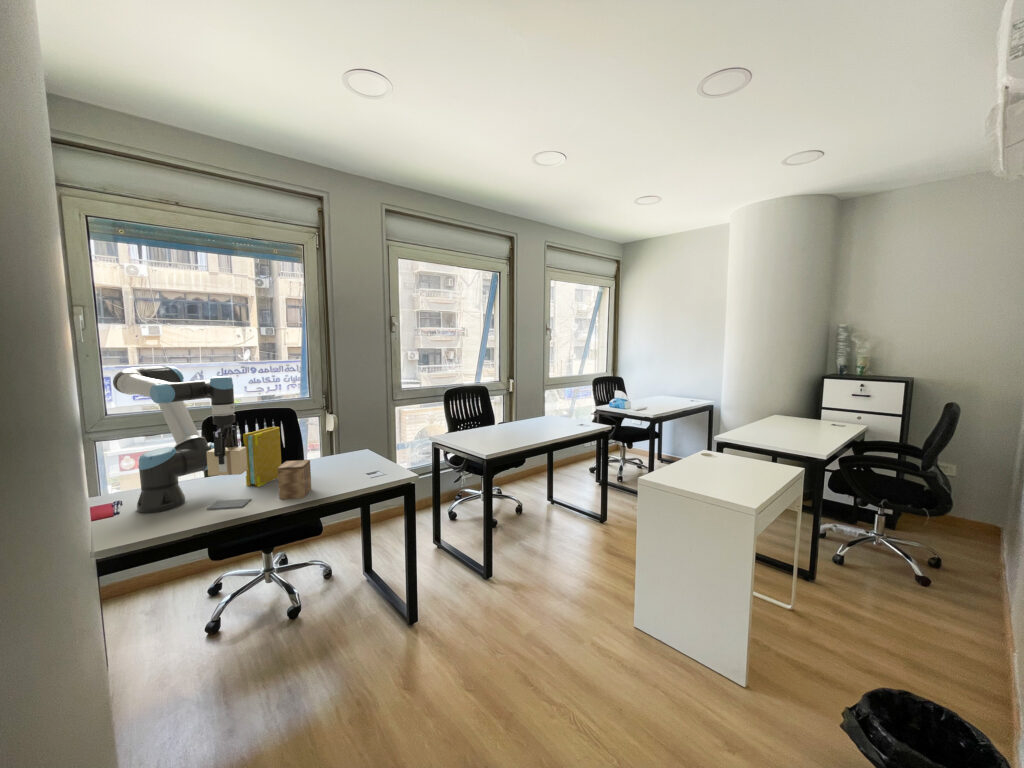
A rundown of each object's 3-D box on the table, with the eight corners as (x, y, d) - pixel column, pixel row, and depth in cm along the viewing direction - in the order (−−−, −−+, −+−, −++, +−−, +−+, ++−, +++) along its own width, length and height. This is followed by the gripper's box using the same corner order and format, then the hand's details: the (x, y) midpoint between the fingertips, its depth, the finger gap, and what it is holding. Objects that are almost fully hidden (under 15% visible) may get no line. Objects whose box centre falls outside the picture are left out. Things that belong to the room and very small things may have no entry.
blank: (208, 475, 163) (206, 451, 162) (216, 471, 169) (214, 447, 168) (240, 474, 165) (239, 450, 164) (247, 469, 171) (246, 446, 170)
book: (258, 486, 189) (255, 434, 186) (246, 485, 190) (243, 434, 187) (285, 475, 205) (282, 427, 203) (274, 474, 207) (271, 426, 204)
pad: (207, 509, 163) (207, 508, 163) (217, 501, 171) (217, 500, 171) (242, 507, 166) (242, 506, 166) (251, 500, 174) (251, 498, 173)
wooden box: (279, 499, 175) (277, 467, 173) (288, 490, 185) (286, 460, 184) (304, 497, 177) (302, 466, 175) (311, 488, 187) (310, 459, 185)
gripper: (221, 418, 156) (225, 476, 158) (244, 409, 174) (247, 461, 177) (200, 418, 154) (204, 477, 157) (225, 410, 173) (228, 462, 175)
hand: (227, 468), depth 167 cm, fingers closed on blank, 6 cm apart
